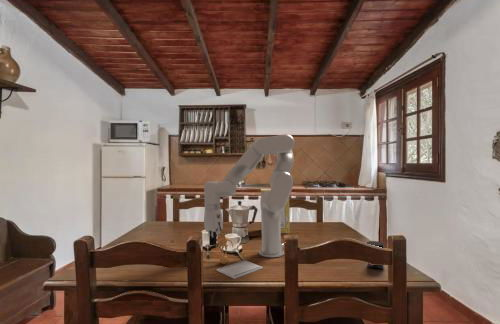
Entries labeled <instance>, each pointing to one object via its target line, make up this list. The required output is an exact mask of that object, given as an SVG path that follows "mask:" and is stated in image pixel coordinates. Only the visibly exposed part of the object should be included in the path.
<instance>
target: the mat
mask: <svg viewBox="0 0 500 324" xmlns="http://www.w3.org/2000/svg"><path fill="white" fill-rule="evenodd" d="M263 268H264V267H263V266H261V265H258V264H256V263H253V262H251V261H248V260H241V261H238V262H235V263H232V264H229V265H225V266H223V267H219V268H216V271H217V272H219V273H221V274H223V275H225V276H227V277H230V278H232V279H234V280H235V279H238V278H240V277H244V276H246V275H248V274H252V273H254V272H258V271H259V270H263Z"/></svg>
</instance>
